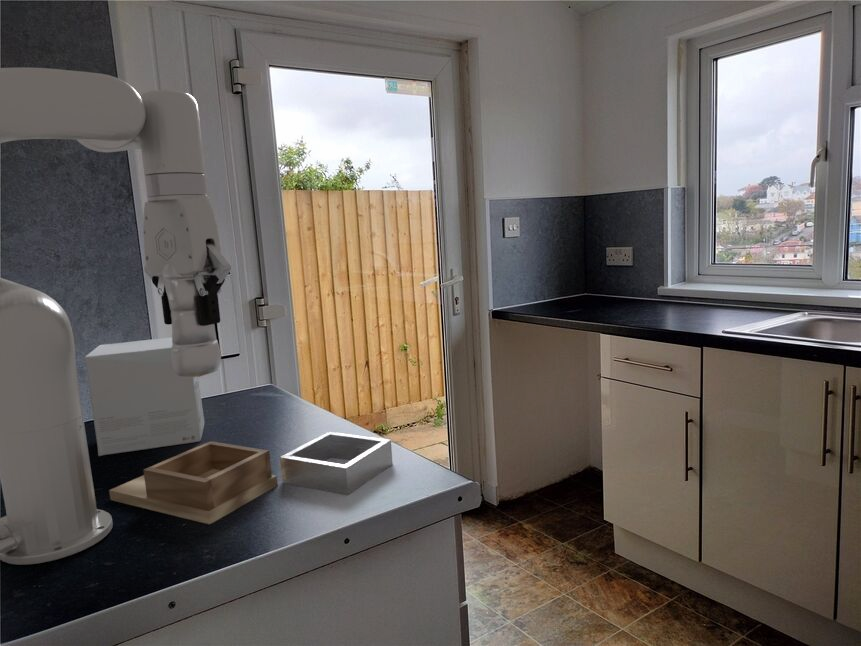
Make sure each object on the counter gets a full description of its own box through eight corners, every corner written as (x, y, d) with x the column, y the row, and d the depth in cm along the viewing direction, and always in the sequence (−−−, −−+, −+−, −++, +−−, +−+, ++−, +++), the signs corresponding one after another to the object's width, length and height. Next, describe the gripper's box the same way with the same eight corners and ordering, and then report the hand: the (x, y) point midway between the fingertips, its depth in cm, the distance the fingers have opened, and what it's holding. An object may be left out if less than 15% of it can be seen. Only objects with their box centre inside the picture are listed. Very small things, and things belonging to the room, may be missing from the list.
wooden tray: (209, 524, 81) (204, 484, 80) (110, 499, 90) (105, 463, 89) (277, 485, 92) (274, 449, 91) (183, 467, 102) (179, 434, 101)
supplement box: (205, 421, 126) (194, 333, 123) (202, 442, 113) (190, 345, 111) (111, 434, 121) (98, 343, 118) (96, 457, 108) (82, 356, 106)
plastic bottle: (162, 381, 85) (144, 232, 81) (194, 369, 91) (178, 231, 88) (202, 382, 83) (185, 230, 80) (232, 370, 89) (218, 228, 86)
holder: (348, 495, 87) (346, 468, 87) (282, 482, 93) (279, 457, 92) (392, 464, 98) (390, 439, 97) (330, 454, 104) (328, 431, 103)
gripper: (109, 194, 84) (127, 326, 86) (201, 184, 76) (217, 330, 78) (157, 194, 90) (171, 318, 93) (245, 185, 82) (259, 320, 85)
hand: (192, 322), depth 86 cm, fingers closed on plastic bottle, 6 cm apart
